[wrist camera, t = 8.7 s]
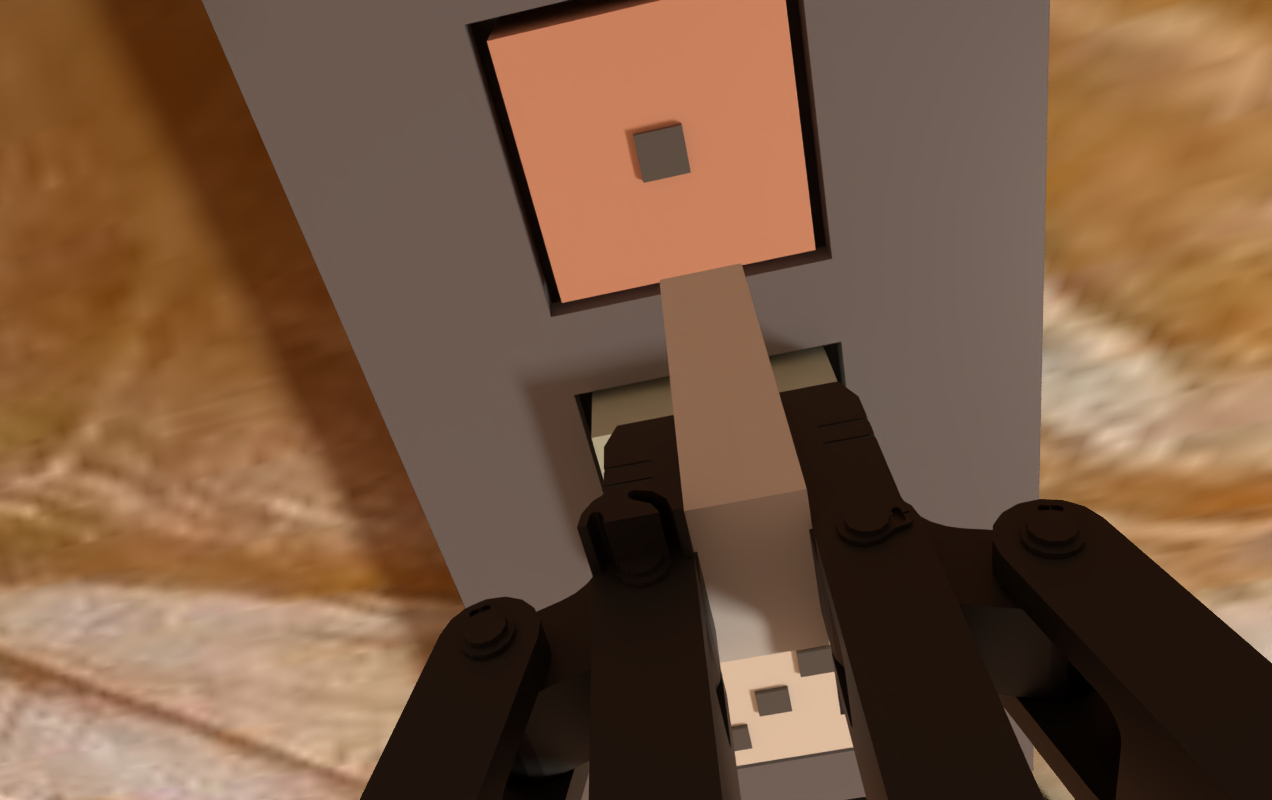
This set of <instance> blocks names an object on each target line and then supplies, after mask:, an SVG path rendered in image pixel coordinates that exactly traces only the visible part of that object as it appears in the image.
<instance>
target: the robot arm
mask: <svg viewBox="0 0 1272 800" xmlns="http://www.w3.org/2000/svg"><path fill="white" fill-rule="evenodd" d="M660 290H661V299H662V308H663V318H664V327H665V337H666V346H667V355H668V365H669V374H670V384H671V393H672V403H673V412H674V415H670V416H665V417H660V418H654V419H649V420H644V421H639V422H634V423H628V424H623V425H618V426H616V428H615V429H614V431H613V433H612V434H611V436H610V438H609V439H608V441H607V443H606V444H605V446H604V494H603V495H602V496H600V497H598V498H597V499H595V500H594V501H592V502H591V503H590V505H589V506H588V507H587V508H586V509H585V510H584V511H583V513H582V514H581V516H580V520H579V523H578V526H577V529H578V533H579V536H580V539H581V542H582V545H583V548H584V551H585V554H586V557H587V560H588V564H589V567H590V570H591V573H592V576H593V577H592V578H591V579H590V581H589V582H588V583H587V584H586V585H585V586H583V587H582V588H581V589H580V590H578V591H577V592H576V593H575V594H573V595H571V596H569V597H567V598H565V599H563V600H562V601H559V602H557V603H555V604H553V605H550V606H548V607H546V608H543V609H541V610H539V611H537V612H536V610H535V608H534V607H532V606H531V605H530V604H528V603H527V602H525V601H524V600H522V599H517V598H511V597H498V598H491V599H485V600H483V601H481V602H478V603H476V604H474V605H472V606H469V607H467V608H466V609H464V610H463V611H462V612H460V613H459V614H458V615H457V616H455V617H454V618H453V619H451V620H450V622H449V623H448V625H447V626H446V627H445V629H444V630H443V632H442V633H441V634H440V636H439V638H438V640H437V642H436V644H435V646H434V648H433V650H432V652H431V654H430V656H429V659H428V661H427V663H426V665H425V667H424V669H423V671H422V673H421V675H420V677H419V679H418V681H417V683H416V685H415V687H414V689H413V691H412V693H411V695H410V698H409V700H408V702H407V704H406V706H405V708H404V710H403V712H402V714H401V716H400V718H399V720H398V722H397V724H396V726H395V728H394V730H393V732H392V734H391V737H390V739H389V741H388V743H387V745H386V747H385V749H384V751H383V753H382V755H381V757H380V759H379V761H378V763H377V765H376V767H375V769H374V771H373V773H372V776H371V778H370V780H369V782H368V784H367V786H366V788H365V790H364V792H363V794H362V796H361V798H360V800H581V799H582V795H583V792H584V788H585V785H586V781H587V778H588V774H589V800H741V794H740V787H739V780H738V772H737V765H736V758H735V750H734V743H733V736H732V728H731V721H730V714H729V706H728V699H727V693H726V689H725V685H724V681H723V676H722V672H721V667H720V663H722V662H728V661H734V660H740V659H746V658H752V657H758V656H764V655H770V654H776V653H782V652H788V651H794V650H800V649H806V648H812V647H818V646H824V645H829V643H830V646H831V651H832V658H833V665H834V672H835V679H836V686H837V693H838V700H839V706H840V713H841V715H844V714H845V717H846V721H847V725H848V729H849V733H850V737H851V740H852V744H853V748H854V752H855V756H856V760H857V764H858V768H859V772H860V776H861V780H862V783H863V787H864V791H865V795H866V799H867V800H1044V799H1043V797H1042V795H1041V792H1040V790H1039V788H1038V785H1037V783H1036V781H1035V779H1034V776H1033V774H1032V772H1031V769H1030V767H1029V765H1028V762H1027V760H1026V758H1025V755H1024V753H1023V751H1022V749H1021V746H1020V744H1019V742H1018V739H1017V737H1016V735H1015V732H1014V730H1013V728H1012V726H1011V723H1010V721H1009V719H1008V716H1007V714H1006V712H1005V709H1006V711H1007V712H1008V713H1009V715H1010V716H1011V717H1012V718H1013V720H1014V721H1015V722H1016V724H1017V725H1018V726H1019V727H1020V729H1021V730H1022V731H1023V733H1024V734H1025V735H1026V736H1027V738H1028V739H1029V740H1030V742H1031V743H1032V744H1033V745H1034V747H1035V748H1036V749H1037V751H1038V752H1039V753H1040V755H1041V756H1042V757H1043V758H1044V760H1045V761H1046V762H1047V764H1048V765H1049V766H1050V767H1051V769H1052V770H1053V771H1054V773H1055V774H1056V775H1057V776H1058V778H1059V779H1060V780H1061V782H1062V783H1063V784H1064V785H1065V787H1066V788H1067V789H1068V791H1069V792H1070V793H1071V794H1072V796H1073V797H1074V798H1075V800H1272V663H1271V662H1270V661H1268V660H1267V659H1266V658H1265V657H1264V656H1263V655H1261V654H1260V653H1259V652H1258V651H1257V650H1256V649H1254V648H1253V647H1252V646H1251V645H1250V644H1249V643H1248V642H1246V641H1245V640H1244V639H1243V638H1242V637H1241V636H1239V635H1238V634H1237V633H1236V632H1235V631H1234V630H1233V629H1231V628H1230V627H1229V626H1228V625H1227V624H1226V623H1224V622H1223V621H1222V620H1221V619H1220V618H1219V617H1217V616H1216V615H1215V614H1214V613H1213V612H1212V611H1211V610H1209V609H1208V608H1207V607H1206V606H1205V605H1204V604H1202V603H1201V602H1200V601H1199V600H1198V599H1197V598H1196V597H1194V596H1193V595H1192V594H1191V593H1190V592H1189V591H1187V590H1186V589H1185V588H1184V587H1183V586H1182V585H1180V584H1179V583H1178V582H1177V581H1176V580H1175V579H1174V578H1172V577H1171V576H1170V575H1169V574H1168V573H1167V572H1165V571H1164V570H1163V569H1162V568H1161V567H1160V566H1159V565H1157V564H1156V563H1155V562H1154V561H1153V560H1152V559H1150V558H1149V557H1148V556H1147V555H1146V554H1145V553H1143V552H1142V551H1141V550H1140V549H1139V548H1138V547H1137V546H1135V545H1134V544H1133V543H1132V542H1131V541H1130V540H1128V539H1127V538H1126V537H1125V536H1124V535H1123V534H1122V533H1120V532H1119V531H1118V530H1117V529H1116V528H1115V527H1113V526H1112V525H1111V524H1110V523H1109V522H1108V521H1106V520H1105V519H1104V518H1103V517H1101V516H1100V515H1098V514H1096V513H1095V512H1093V511H1092V510H1090V509H1088V508H1087V507H1085V506H1081V505H1078V504H1074V503H1071V502H1067V501H1064V500H1047V499H1038V500H1033V501H1028V502H1023V503H1018V504H1016V505H1015V506H1013V507H1011V508H1009V509H1007V510H1006V511H1004V512H1002V513H1001V515H1000V516H999V517H998V519H997V520H996V521H995V523H994V524H993V530H986V529H968V528H957V527H950V526H944V525H941V524H938V523H934V522H931V521H929V520H927V519H925V518H923V517H921V516H920V515H919V514H918V513H917V511H916V510H915V509H914V508H913V506H912V505H910V504H908V503H907V502H905V501H904V500H903V499H902V497H901V495H900V493H899V491H898V488H897V486H896V484H895V481H894V479H893V476H892V474H891V472H890V469H889V467H888V465H887V462H886V460H885V458H884V455H883V453H882V450H881V448H880V446H879V443H878V441H877V439H876V437H875V435H874V432H873V429H872V427H871V424H870V422H869V421H868V418H867V415H866V413H865V410H864V408H863V405H862V403H861V401H860V398H859V396H857V395H856V394H855V393H853V392H852V391H851V390H849V389H848V388H846V387H845V386H844V385H842V384H841V383H840V382H838V381H836V382H831V383H826V384H821V385H815V386H810V387H805V388H800V389H794V390H789V391H784V392H779V391H778V388H777V385H776V381H775V378H774V374H773V371H772V367H771V364H770V360H769V357H768V353H767V350H766V347H765V343H764V340H763V336H762V333H761V329H760V326H759V322H758V319H757V315H756V312H755V308H754V305H753V302H752V298H751V295H750V291H749V288H748V284H747V281H746V277H745V274H744V270H743V267H742V264H741V263H740V264H735V265H730V266H725V267H720V268H715V269H710V270H705V271H701V272H696V273H691V274H686V275H681V276H676V277H671V278H666V279H661V280H660ZM1004 708H1005V709H1004Z"/></svg>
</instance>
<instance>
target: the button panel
mask: <svg viewBox="0 0 1272 800" xmlns="http://www.w3.org/2000/svg"><path fill="white" fill-rule="evenodd" d="M563 1H567V0H202V2H203V5H204V7H205V9H206V12H207V14H208V16H209V18H210V21H211V23H212V25H213V28H214V30H215V32H216V35H217V37H218V39H219V41H220V44H221V46H222V48H223V51H224V53H225V55H226V58H227V60H228V62H229V65H230V67H231V69H232V71H233V74H234V76H235V78H236V81H237V83H238V85H239V88H240V90H241V92H242V94H243V97H244V99H245V101H246V104H247V106H248V108H249V111H250V113H251V115H252V118H253V120H254V122H255V124H256V127H257V129H258V131H259V134H260V136H261V138H262V141H263V143H264V145H265V147H266V150H267V152H268V154H269V157H270V159H271V161H272V164H273V166H274V168H275V171H276V173H277V175H278V177H279V180H280V182H281V184H282V187H283V189H284V191H285V194H286V196H287V198H288V200H289V203H290V205H291V207H292V210H293V212H294V214H295V217H296V219H297V221H298V223H299V226H300V228H301V230H302V233H303V235H304V237H305V240H306V242H307V244H308V247H309V249H310V251H311V253H312V256H313V258H314V260H315V263H316V265H317V267H318V270H319V272H320V274H321V276H322V279H323V281H324V283H325V286H326V288H327V290H328V293H329V295H330V297H331V300H332V302H333V304H334V306H335V309H336V311H337V313H338V316H339V318H340V320H341V323H342V325H343V327H344V329H345V332H346V334H347V336H348V339H349V341H350V343H351V346H352V348H353V350H354V353H355V355H356V357H357V359H358V362H359V364H360V366H361V369H362V371H363V373H364V376H365V378H366V380H367V382H368V385H369V387H370V389H371V392H372V394H373V396H374V399H375V401H376V403H377V406H378V408H379V410H380V412H381V415H382V417H383V419H384V422H385V424H386V426H387V429H388V431H389V433H390V435H391V438H392V440H393V442H394V445H395V447H396V449H397V452H398V454H399V456H400V459H401V461H402V463H403V465H404V468H405V470H406V472H407V475H408V477H409V479H410V482H411V484H412V486H413V488H414V491H415V493H416V495H417V498H418V500H419V502H420V505H421V507H422V509H423V511H424V514H425V516H426V518H427V521H428V523H429V525H430V528H431V530H432V532H433V535H434V537H435V539H436V541H437V544H438V546H439V548H440V551H441V553H442V555H443V558H444V560H445V562H446V564H447V567H448V569H449V571H450V574H451V576H452V578H453V581H454V583H455V585H456V588H457V590H458V592H459V594H460V597H461V599H462V601H463V604H464V606H465V608H467V607H469V606H472V605H474V604H476V603H478V602H481V601H483V600H485V599H491V598H498V597H511V598H517V599H522V600H524V601H525V602H527V603H528V604H530V605H531V606H532V607H534V608H535V610H536V612H537V611H539V610H541V609H543V608H546V607H548V606H550V605H553V604H555V603H557V602H559V601H562V600H563V599H565V598H567V597H569V596H571V595H573V594H575V593H576V592H577V591H578V590H580V589H581V588H582V587H583V586H585V585H586V584H587V583H588V582H589V581H590V579H591V578H592V577H593V576H592V573H591V570H590V567H589V564H588V560H587V557H586V554H585V551H584V548H583V545H582V542H581V539H580V536H579V533H578V529H577V526H578V523H579V520H580V516H581V514H582V513H583V511H584V510H585V509H586V508H587V507H588V506H589V505H590V503H591V502H592V501H594V500H595V499H597V498H598V497H600V496H602V495H603V494H604V479H603V476H602V472H601V469H600V466H599V462H598V459H597V455H596V452H595V449H594V445H593V442H592V438H591V434H592V391H597V390H602V389H607V388H612V387H617V386H622V385H627V384H632V383H637V382H642V381H647V380H652V379H657V378H662V377H667V376H670V374H669V365H668V355H667V346H666V337H665V327H664V318H663V308H662V299H661V290H660V283H655V284H650V285H645V286H640V287H636V288H631V289H626V290H621V291H617V292H612V293H607V294H602V295H597V296H593V297H588V298H583V299H578V300H573V301H569V302H564V303H562V301H561V298H560V294H559V291H558V287H557V284H556V280H555V277H554V273H553V270H552V266H551V263H550V259H549V256H548V252H547V249H546V245H545V242H544V239H543V235H542V232H541V228H540V225H539V221H538V218H537V214H536V211H535V207H534V204H533V200H532V197H531V193H530V190H529V186H528V183H527V179H526V176H525V172H524V169H523V165H522V162H521V158H520V155H519V151H518V148H517V144H516V141H515V137H514V134H513V131H512V127H511V124H510V120H509V117H508V113H507V110H506V106H505V103H504V99H503V96H502V92H501V89H500V85H499V82H498V78H497V75H496V71H495V68H494V64H493V61H492V57H491V54H490V50H489V47H488V43H487V40H488V38H489V36H490V34H491V32H492V30H493V28H494V26H495V24H496V22H497V20H498V18H499V17H500V16H504V15H508V14H513V13H517V12H521V11H525V10H529V9H534V8H538V7H542V6H546V5H550V4H555V3H559V2H563ZM786 7H787V16H788V24H789V32H790V41H791V49H792V57H793V66H794V74H795V82H796V91H797V99H798V107H799V116H800V124H801V132H802V141H803V149H804V157H805V166H806V174H807V182H808V191H809V199H810V207H811V216H812V224H813V232H814V241H815V249H816V250H813V251H808V252H803V253H798V254H794V255H789V256H784V257H779V258H774V259H770V260H765V261H760V262H755V263H751V264H746V265H742V267H743V270H744V274H745V277H746V281H747V284H748V288H749V291H750V295H751V298H752V302H753V305H754V308H755V312H756V315H757V319H758V322H759V326H760V329H761V333H762V336H763V340H764V343H765V347H766V350H767V353H768V356H772V355H777V354H782V353H787V352H792V351H797V350H802V349H807V348H812V347H817V346H822V345H823V347H824V350H825V352H826V355H827V357H828V359H829V362H830V364H831V367H832V369H833V372H834V374H835V376H836V379H837V381H838V382H840V383H841V384H842V385H844V386H845V387H846V388H848V389H849V390H851V391H852V392H853V393H855V394H856V395H857V396H859V398H860V401H861V403H862V405H863V408H864V410H865V413H866V415H867V418H868V421H869V422H870V424H871V427H872V429H873V432H874V435H875V437H876V439H877V441H878V443H879V446H880V448H881V450H882V453H883V455H884V458H885V460H886V462H887V465H888V467H889V469H890V472H891V474H892V476H893V479H894V481H895V484H896V486H897V488H898V491H899V493H900V495H901V497H902V499H903V500H904V501H905V502H907V503H908V504H910V505H912V506H913V508H914V509H915V510H916V511H917V513H918V514H919V515H920V516H921V517H923V518H925V519H927V520H929V521H931V522H934V523H938V524H941V525H944V526H950V527H957V528H968V529H986V530H993V524H994V523H995V521H996V520H997V519H998V517H999V516H1000V515H1001V513H1002V512H1004V511H1006V510H1007V509H1009V508H1011V507H1013V506H1015V505H1016V504H1018V503H1023V502H1028V501H1033V500H1038V499H1039V470H1040V425H1041V379H1042V334H1043V288H1044V243H1045V198H1046V152H1047V107H1048V61H1049V16H1050V0H786ZM1004 709H1005V708H1004ZM1005 712H1006V714H1007V716H1008V719H1009V721H1010V723H1011V726H1012V728H1013V730H1014V732H1015V735H1016V737H1017V739H1018V742H1019V744H1020V746H1021V749H1022V751H1023V753H1024V755H1025V758H1026V760H1027V762H1028V765H1029V767H1030V769H1031V771H1032V770H1033V744H1032V743H1031V742H1030V740H1029V739H1028V738H1027V736H1026V735H1025V734H1024V733H1023V731H1022V730H1021V729H1020V727H1019V726H1018V725H1017V724H1016V722H1015V721H1014V720H1013V718H1012V717H1011V716H1010V715H1009V713H1008V712H1007V711H1006V709H1005ZM737 772H738V780H739V787H740V794H741V800H847V799H854V798H860V797H866V795H865V791H864V787H863V783H862V780H861V776H860V772H859V768H858V764H857V760H856V756H855V752H854V748H853V747H851V748H845V749H839V750H833V751H826V752H820V753H814V754H808V755H802V756H796V757H789V758H783V759H777V760H771V761H765V762H758V763H752V764H746V765H740V766H737ZM581 800H589V774H588V778H587V781H586V785H585V788H584V792H583V795H582V799H581Z"/></svg>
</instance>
